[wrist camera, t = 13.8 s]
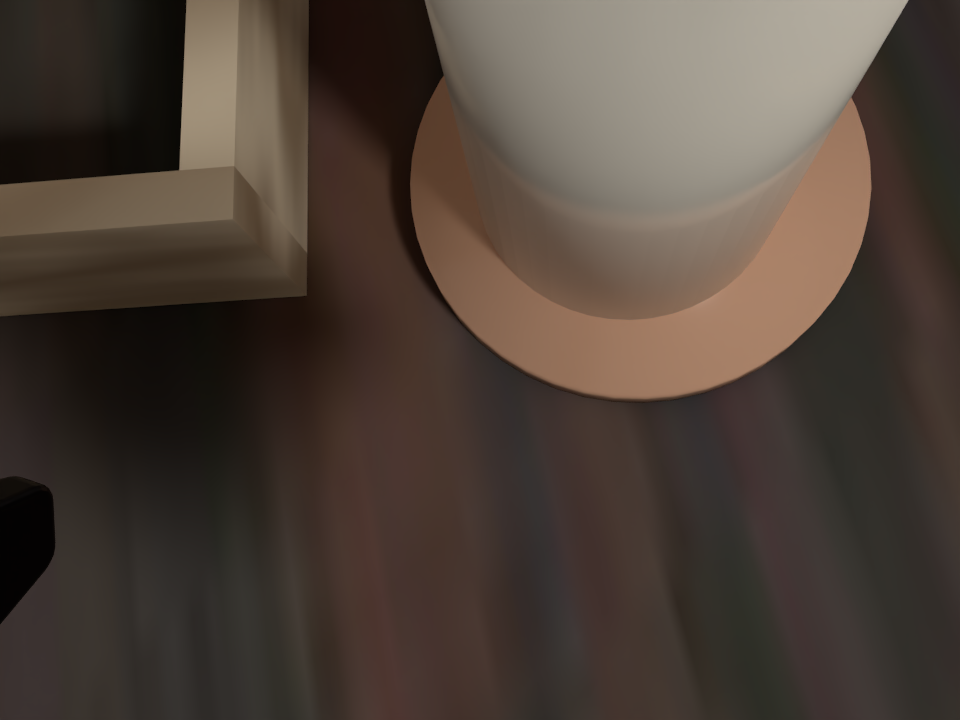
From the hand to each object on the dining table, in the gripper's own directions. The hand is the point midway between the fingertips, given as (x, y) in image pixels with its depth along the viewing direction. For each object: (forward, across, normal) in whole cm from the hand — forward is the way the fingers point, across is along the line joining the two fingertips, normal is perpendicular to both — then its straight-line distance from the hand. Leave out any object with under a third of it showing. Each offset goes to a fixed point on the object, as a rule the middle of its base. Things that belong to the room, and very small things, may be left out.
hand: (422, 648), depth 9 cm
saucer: (+13, 0, -2) cm, 13 cm away
